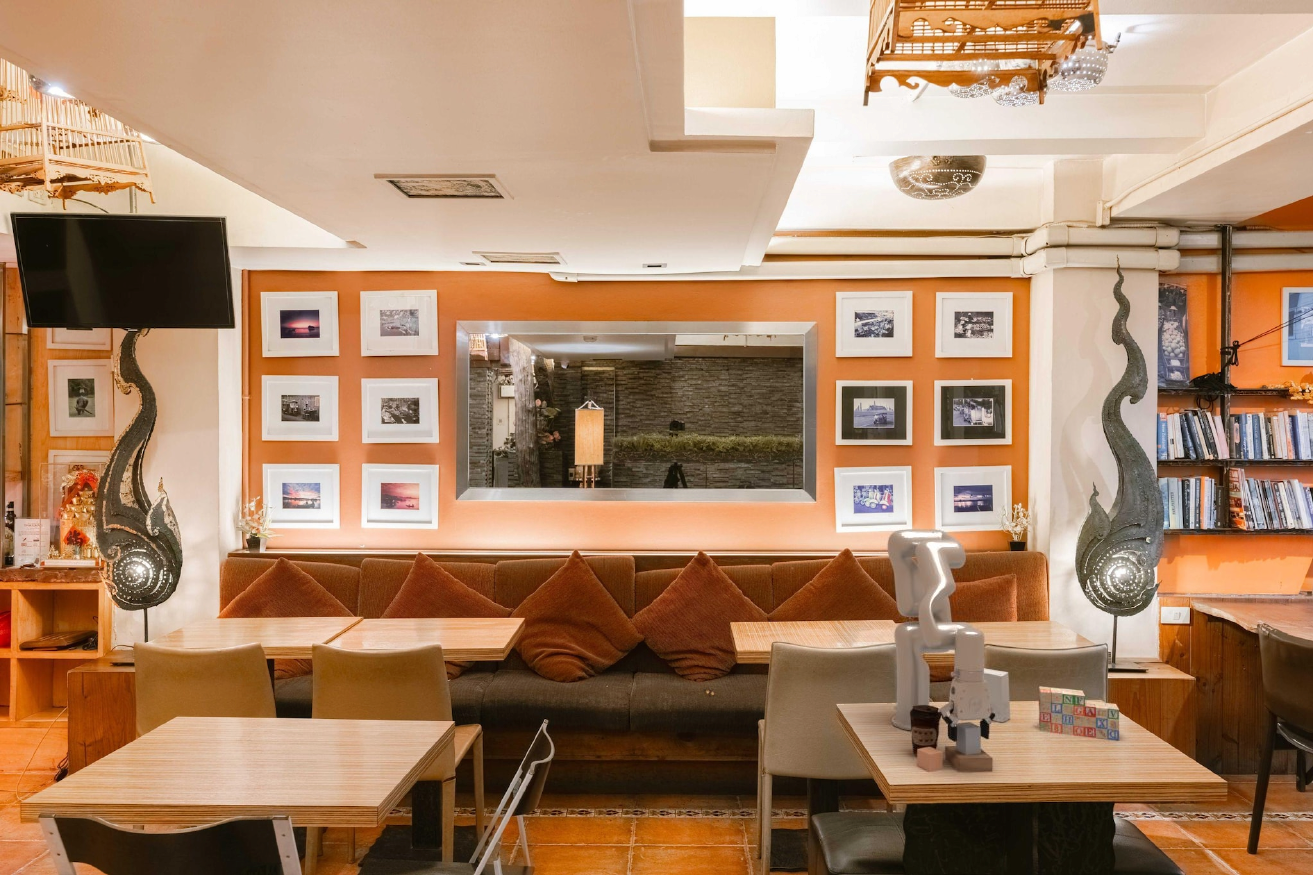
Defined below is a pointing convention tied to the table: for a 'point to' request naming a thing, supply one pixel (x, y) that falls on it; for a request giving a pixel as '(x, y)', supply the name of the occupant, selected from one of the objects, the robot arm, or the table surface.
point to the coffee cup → (924, 726)
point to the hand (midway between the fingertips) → (968, 738)
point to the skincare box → (998, 693)
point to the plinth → (968, 760)
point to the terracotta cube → (929, 758)
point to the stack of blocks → (1076, 714)
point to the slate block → (968, 738)
